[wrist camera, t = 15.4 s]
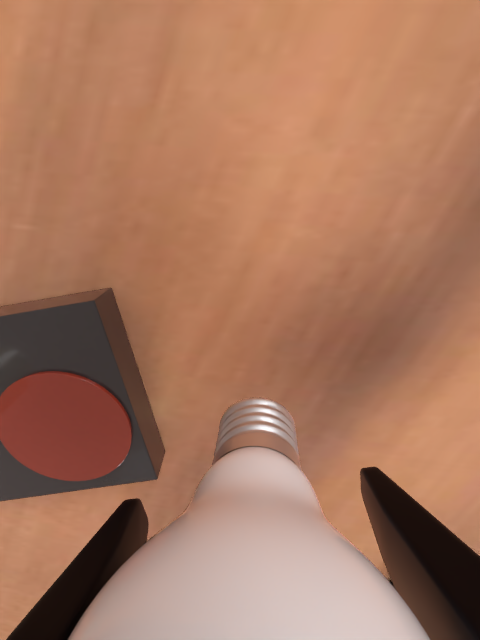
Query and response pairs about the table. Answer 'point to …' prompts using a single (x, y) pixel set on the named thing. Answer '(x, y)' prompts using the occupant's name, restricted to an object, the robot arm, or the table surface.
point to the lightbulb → (250, 556)
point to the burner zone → (64, 426)
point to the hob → (84, 360)
